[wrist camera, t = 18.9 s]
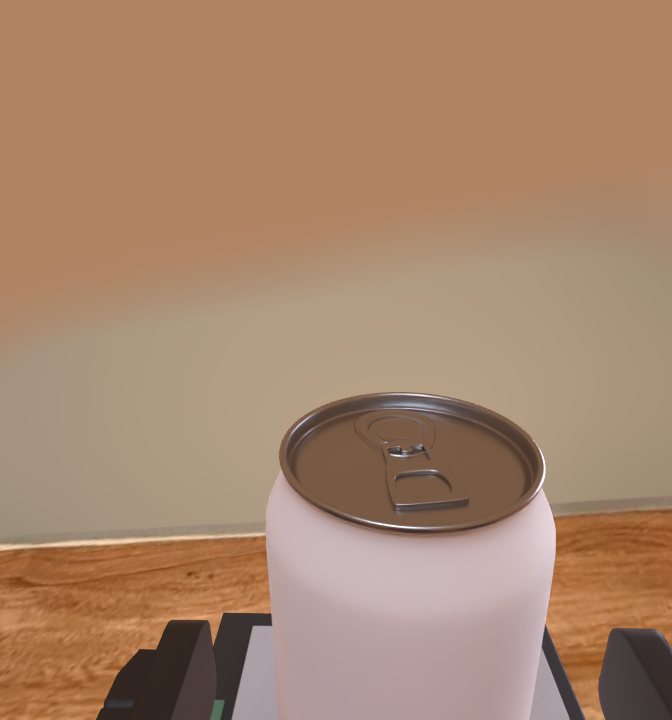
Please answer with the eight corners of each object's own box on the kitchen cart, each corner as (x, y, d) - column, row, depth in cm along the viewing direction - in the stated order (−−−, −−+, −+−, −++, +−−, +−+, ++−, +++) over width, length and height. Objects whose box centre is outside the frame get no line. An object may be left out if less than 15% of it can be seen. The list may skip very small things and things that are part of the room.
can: (461, 680, 19) (490, 378, 14) (553, 924, 12) (647, 526, 8) (285, 702, 18) (261, 393, 14) (291, 972, 12) (252, 565, 8)
